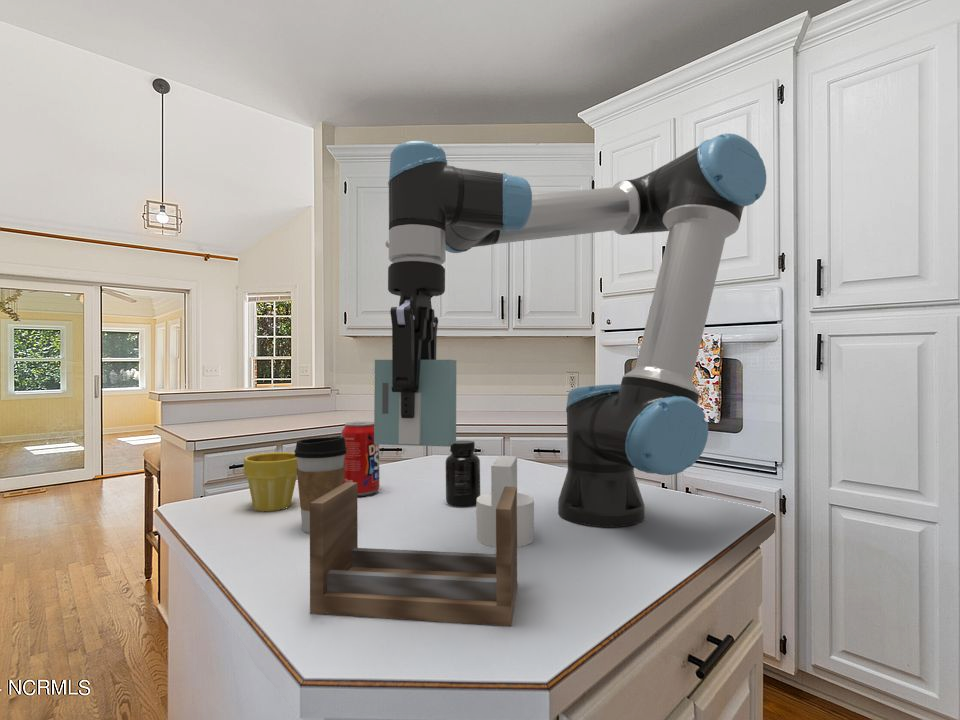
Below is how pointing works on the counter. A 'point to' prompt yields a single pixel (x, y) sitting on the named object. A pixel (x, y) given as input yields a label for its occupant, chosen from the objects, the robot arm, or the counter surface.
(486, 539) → the cylinder with rectangular tab
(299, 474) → the coffee cup
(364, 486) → the soda can
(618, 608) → the counter surface
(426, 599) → the wooden book rack
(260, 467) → the plant pot
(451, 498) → the supplement bottle
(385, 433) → the door panel
